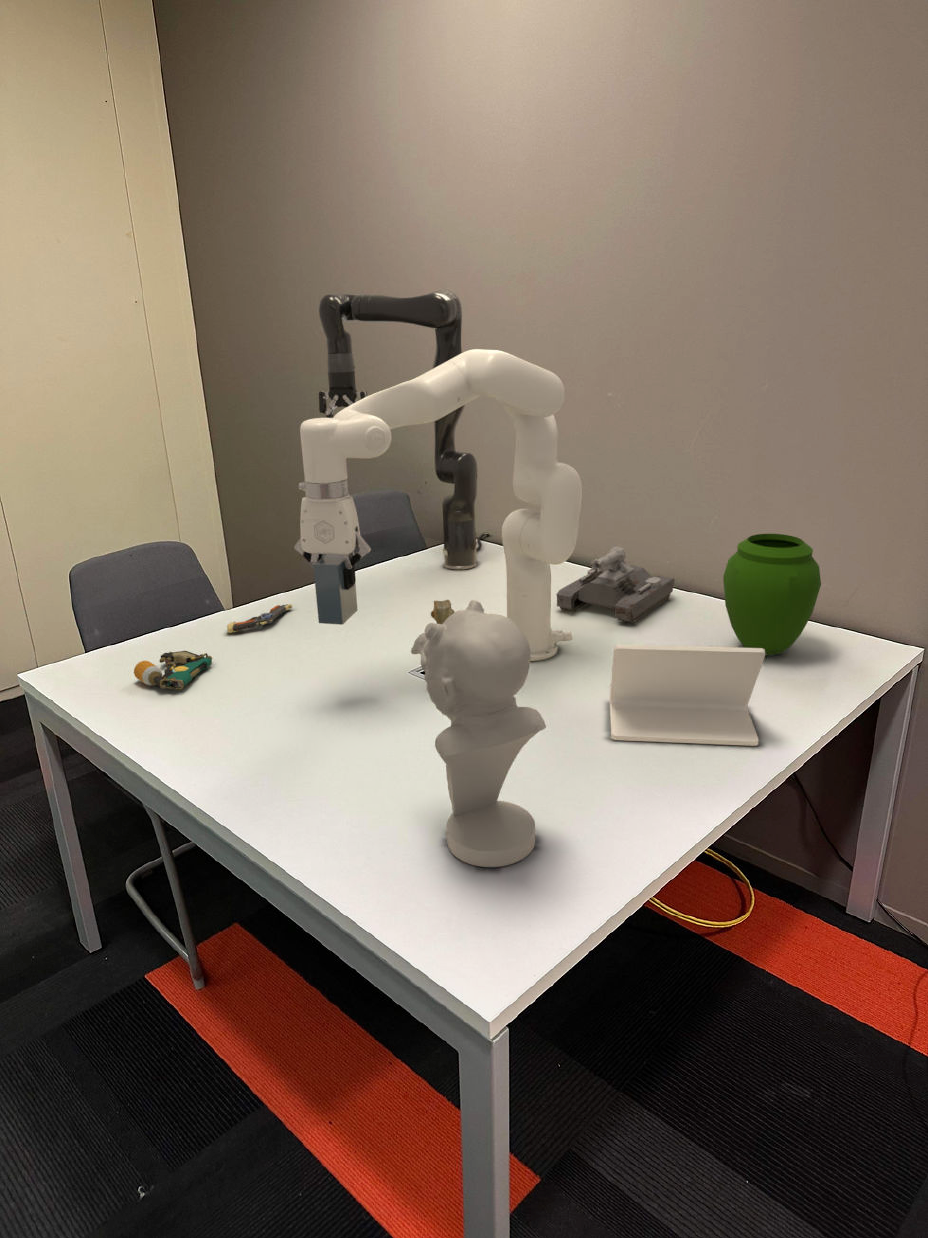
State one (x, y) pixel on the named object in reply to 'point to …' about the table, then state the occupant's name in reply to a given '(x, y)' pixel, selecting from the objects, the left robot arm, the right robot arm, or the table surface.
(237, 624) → the toy gun
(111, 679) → the table surface
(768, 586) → the vase
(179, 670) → the green toy blaster
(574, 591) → the toy
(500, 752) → the bust sculpture
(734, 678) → the tablet stand
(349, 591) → the brick
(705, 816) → the table surface
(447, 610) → the sculpture
